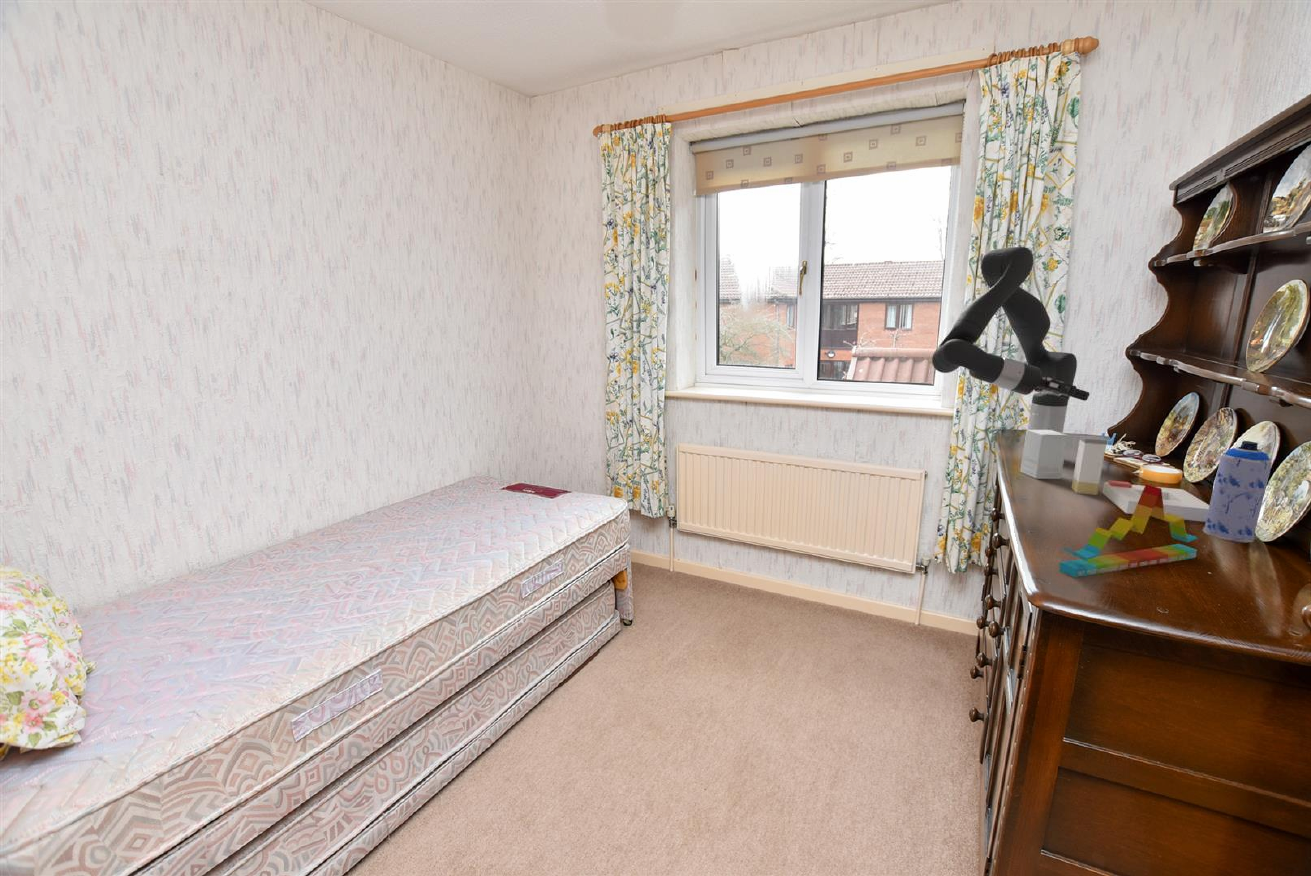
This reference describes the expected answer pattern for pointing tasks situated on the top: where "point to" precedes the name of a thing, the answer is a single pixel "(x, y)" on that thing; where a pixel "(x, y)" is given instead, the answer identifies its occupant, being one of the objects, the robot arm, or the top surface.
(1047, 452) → the supplement box
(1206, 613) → the top surface
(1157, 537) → the top surface
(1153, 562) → the chart
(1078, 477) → the tall white box
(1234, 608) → the top surface
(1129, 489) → the socket
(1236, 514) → the aerosol can
